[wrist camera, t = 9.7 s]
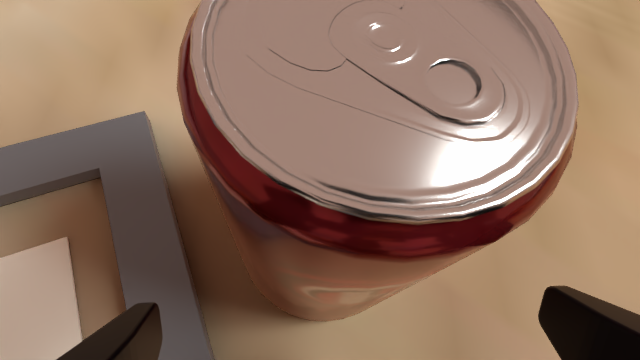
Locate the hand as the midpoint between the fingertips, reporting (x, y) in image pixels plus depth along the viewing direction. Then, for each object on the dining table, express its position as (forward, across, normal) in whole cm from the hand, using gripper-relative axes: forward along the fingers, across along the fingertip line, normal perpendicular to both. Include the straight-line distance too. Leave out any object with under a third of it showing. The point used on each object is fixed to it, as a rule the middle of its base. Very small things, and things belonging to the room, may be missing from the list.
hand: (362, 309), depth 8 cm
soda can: (+8, 0, +3) cm, 9 cm away
